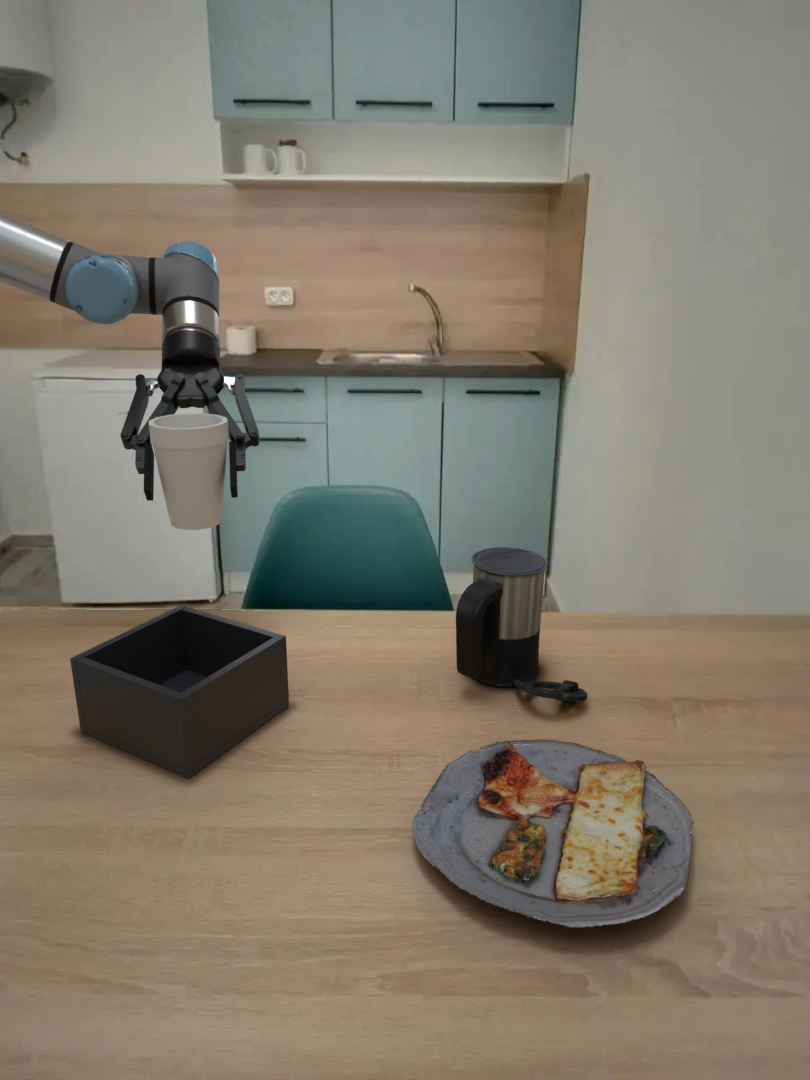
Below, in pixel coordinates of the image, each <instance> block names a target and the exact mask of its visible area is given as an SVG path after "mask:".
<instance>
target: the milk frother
mask: <svg viewBox="0 0 810 1080" xmlns="http://www.w3.org/2000/svg"><path fill="white" fill-rule="evenodd" d="M470 560H471V563H472V564H473V568H472V569H473V571H472V583H470V584H469V585H468V586H467V587H466V588H465V589H464V591H463V592H462V594H461V595H460V597H459V600H458V602H457V606H456V611H455V649H456V650H455V651H456V652H455V653H456V671H457V672H458V674H460V675H462V676H464V677H467V678H470V679H475V680H477V681H480V682H482V683H483V684H487V685H490V686H496V687H504V688H505V687H508V688H509V687H510V688H511V687H517V688H518V689H519V690H521V691H523V692H525V693H527V694H530V695H533V696H536V697H539V698H544V699H551V700H556V701H559V702H562V703H566V704H570V705H575V704H576V703H578V702H585V701H587V699H588V695H589V694H588V692H587V691H586V690H585V689H583V688H581V687H579V683H578V682H577V681H573V680H568V679H564V680H563V681H562V682H559V681H547V680H536V679H538V677H539V676H540V673H541V667H540V664H539V661H540V660H539V657H540V656H539V655H540V636H541V635H540V633H541V622H542V620H541V619H542V610H543V609H542V608H543V594H544V584H545V583H544V581H545V569H547V567H548V564H549V563H548V560H547V559H546V557H544V556H543V555H542V554H540V553H537V552H534V551H532V550H528V549H524V548H520V547H519V548H518V547H507V546H506V547H505V546H500V547H490V548H485V549H481V550H478V551H476V552H475V553H473V555H471V557H470ZM551 689H553V690H551Z"/></svg>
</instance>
